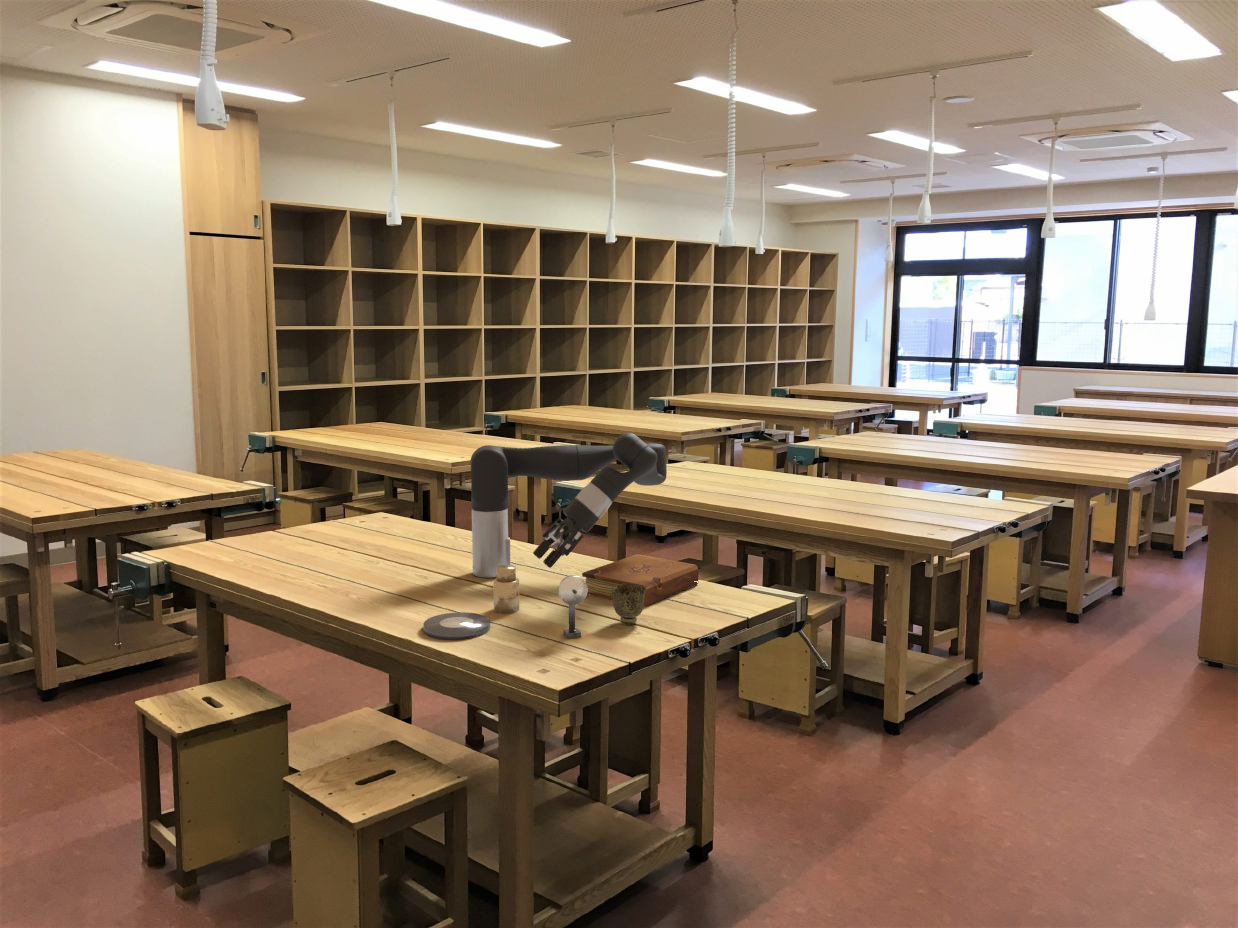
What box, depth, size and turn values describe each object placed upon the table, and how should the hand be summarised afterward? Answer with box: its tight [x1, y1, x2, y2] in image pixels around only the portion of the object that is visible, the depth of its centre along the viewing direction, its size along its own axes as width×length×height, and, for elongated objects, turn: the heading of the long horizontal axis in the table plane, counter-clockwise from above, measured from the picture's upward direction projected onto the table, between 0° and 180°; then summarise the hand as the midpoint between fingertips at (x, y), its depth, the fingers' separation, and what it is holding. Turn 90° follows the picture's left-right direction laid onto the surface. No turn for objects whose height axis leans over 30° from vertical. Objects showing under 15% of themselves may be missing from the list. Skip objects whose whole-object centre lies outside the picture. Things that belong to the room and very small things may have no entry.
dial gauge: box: [557, 574, 588, 639], centre depth 197 cm, size 6×4×13 cm, turn 109°
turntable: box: [422, 611, 491, 641], centre depth 202 cm, size 14×14×2 cm
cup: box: [611, 583, 646, 626], centre depth 206 cm, size 8×7×8 cm
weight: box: [492, 564, 520, 615], centre depth 215 cm, size 6×6×10 cm
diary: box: [581, 553, 699, 607], centre depth 233 cm, size 23×19×6 cm
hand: (541, 560), depth 216 cm, fingers open, 8 cm apart
